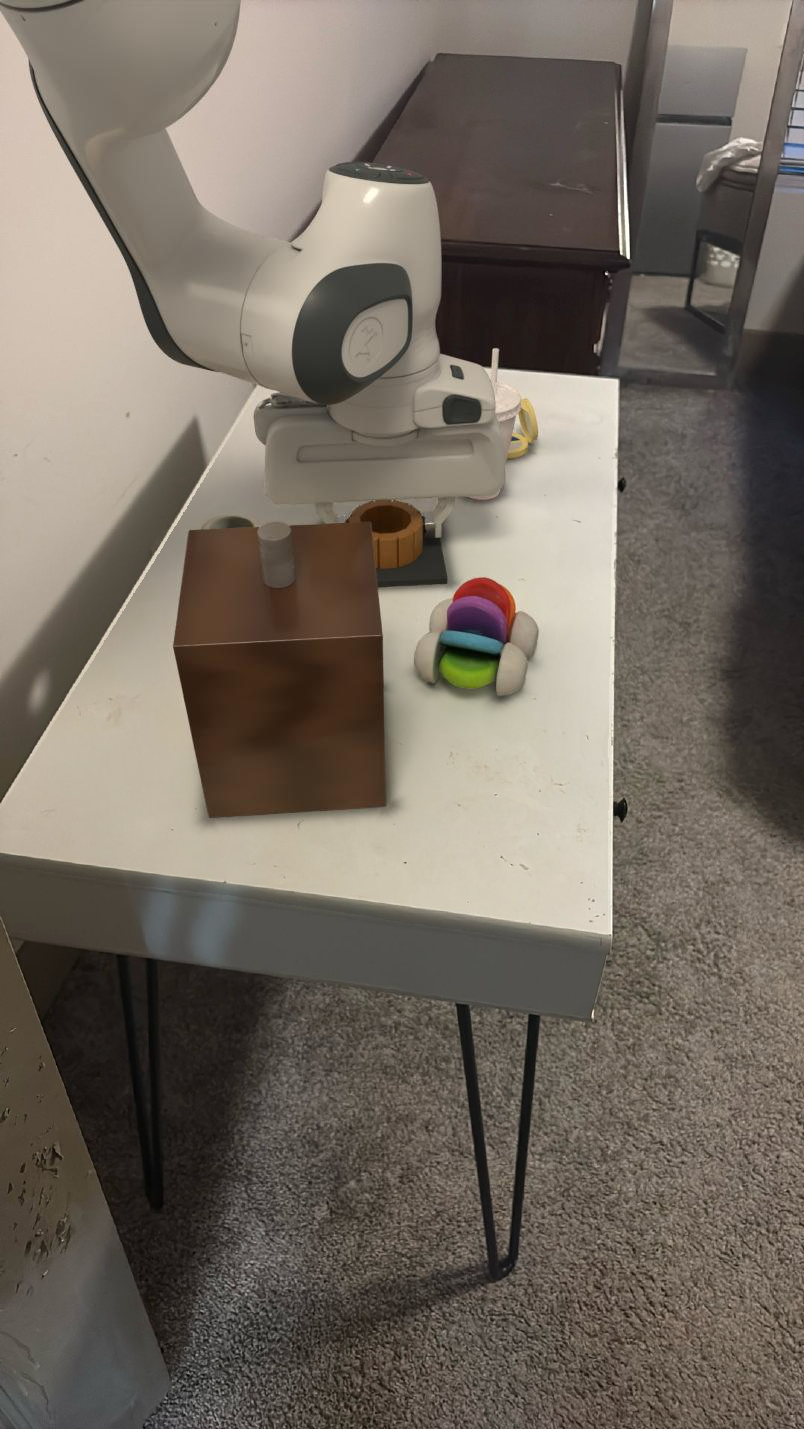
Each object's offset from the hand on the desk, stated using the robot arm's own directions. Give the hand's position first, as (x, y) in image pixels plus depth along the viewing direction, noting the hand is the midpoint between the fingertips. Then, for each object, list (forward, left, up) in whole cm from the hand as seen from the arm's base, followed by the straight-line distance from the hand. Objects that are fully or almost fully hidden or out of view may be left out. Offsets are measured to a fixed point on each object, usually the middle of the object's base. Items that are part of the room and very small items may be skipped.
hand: (385, 537), depth 88 cm
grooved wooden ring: (0, 0, -1) cm, 1 cm away
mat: (0, 0, -2) cm, 2 cm away
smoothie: (+10, +10, -2) cm, 14 cm away
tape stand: (-8, -24, -2) cm, 25 cm away
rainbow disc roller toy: (+6, -16, -2) cm, 17 cm away
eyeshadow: (+14, +18, -2) cm, 23 cm away
